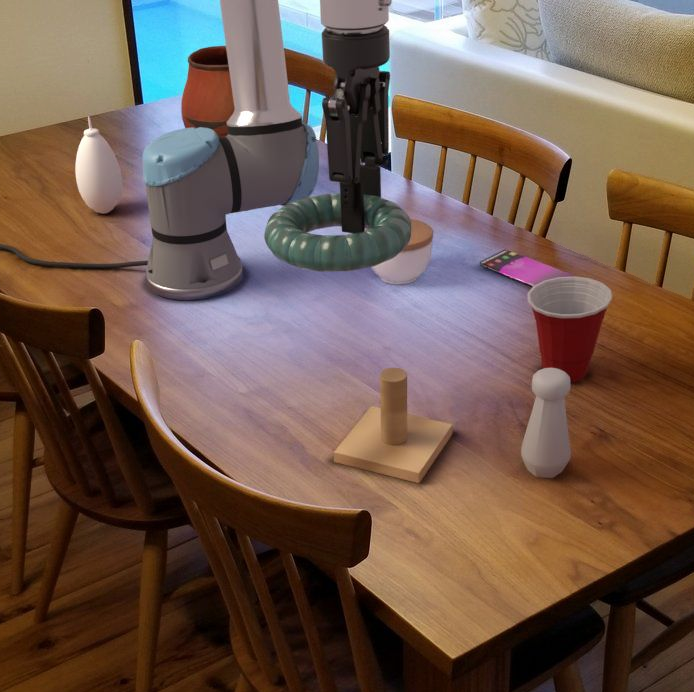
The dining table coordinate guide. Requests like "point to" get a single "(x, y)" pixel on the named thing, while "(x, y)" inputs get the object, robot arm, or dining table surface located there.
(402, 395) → the peg stand
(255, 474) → the dining table surface
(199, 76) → the terracotta vase
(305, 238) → the ring
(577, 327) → the plastic cup
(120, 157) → the dining table surface
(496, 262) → the smartphone
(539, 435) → the salt shaker
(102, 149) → the white air blower bulb
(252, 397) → the dining table surface
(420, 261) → the trinket box
